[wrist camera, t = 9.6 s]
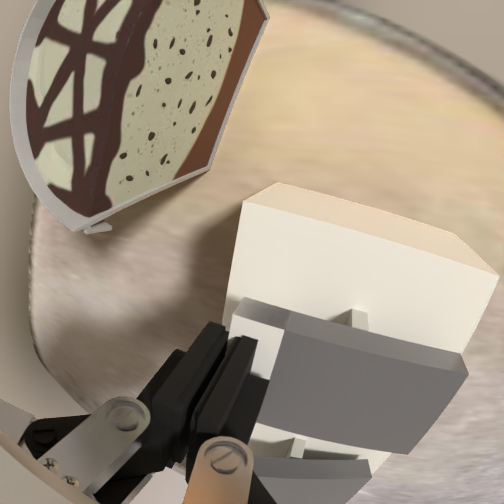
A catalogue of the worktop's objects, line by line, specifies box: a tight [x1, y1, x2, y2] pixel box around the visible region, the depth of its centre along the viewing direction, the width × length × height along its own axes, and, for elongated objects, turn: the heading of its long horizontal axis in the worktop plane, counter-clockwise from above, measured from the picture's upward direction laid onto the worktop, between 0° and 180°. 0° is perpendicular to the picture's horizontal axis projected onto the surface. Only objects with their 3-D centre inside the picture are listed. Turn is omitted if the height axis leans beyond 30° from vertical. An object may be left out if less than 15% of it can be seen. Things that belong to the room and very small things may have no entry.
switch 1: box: [225, 296, 469, 455], centre depth 10 cm, size 8×4×1 cm, turn 79°
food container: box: [9, 0, 270, 234], centre depth 11 cm, size 12×6×10 cm, turn 158°
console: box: [221, 182, 500, 475], centre depth 17 cm, size 10×26×7 cm, turn 169°
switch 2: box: [253, 455, 372, 504], centre depth 13 cm, size 8×4×1 cm, turn 79°
